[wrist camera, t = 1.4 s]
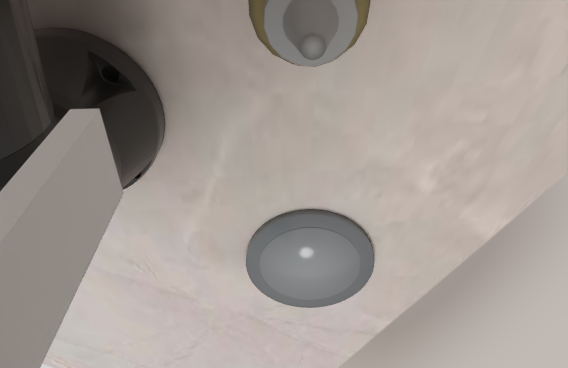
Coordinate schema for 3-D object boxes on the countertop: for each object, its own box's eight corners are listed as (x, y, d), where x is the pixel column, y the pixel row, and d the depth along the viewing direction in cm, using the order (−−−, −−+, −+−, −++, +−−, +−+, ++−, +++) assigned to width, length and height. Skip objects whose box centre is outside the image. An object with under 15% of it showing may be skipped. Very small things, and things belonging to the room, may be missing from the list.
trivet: (250, 300, 56) (249, 307, 55) (243, 209, 48) (242, 216, 47) (366, 301, 55) (367, 308, 54) (379, 210, 47) (381, 216, 46)
